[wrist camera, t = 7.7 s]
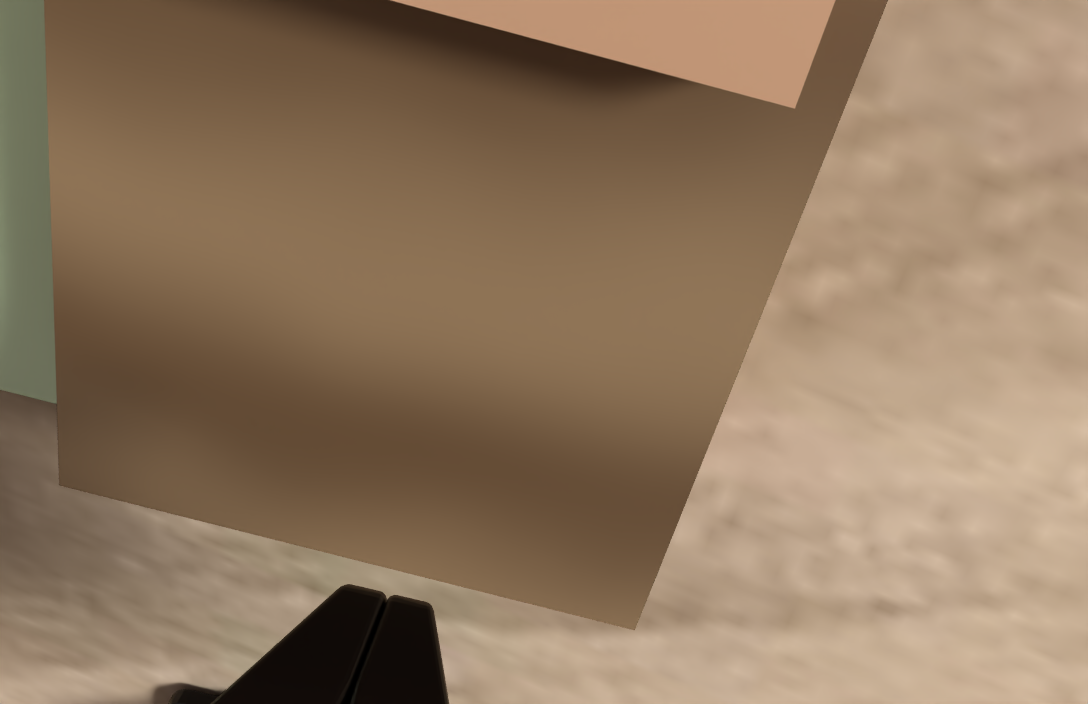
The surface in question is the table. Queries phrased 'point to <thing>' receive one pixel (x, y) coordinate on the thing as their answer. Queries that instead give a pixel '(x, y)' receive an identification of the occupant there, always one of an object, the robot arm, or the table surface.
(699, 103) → the deck
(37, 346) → the mat
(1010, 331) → the table surface
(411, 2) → the salmon pink brick
